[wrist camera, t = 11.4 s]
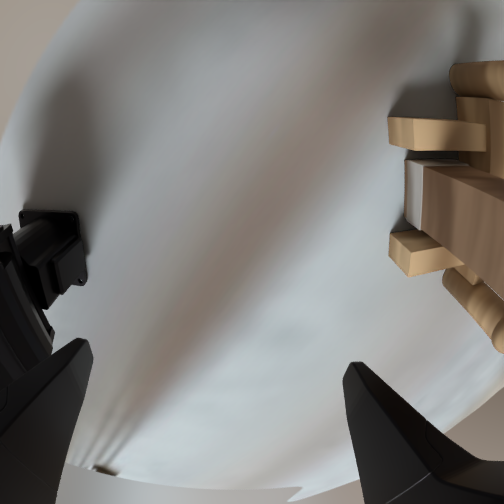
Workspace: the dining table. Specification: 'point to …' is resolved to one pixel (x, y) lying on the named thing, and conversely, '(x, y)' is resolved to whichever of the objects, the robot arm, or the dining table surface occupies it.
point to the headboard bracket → (477, 156)
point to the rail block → (459, 213)
